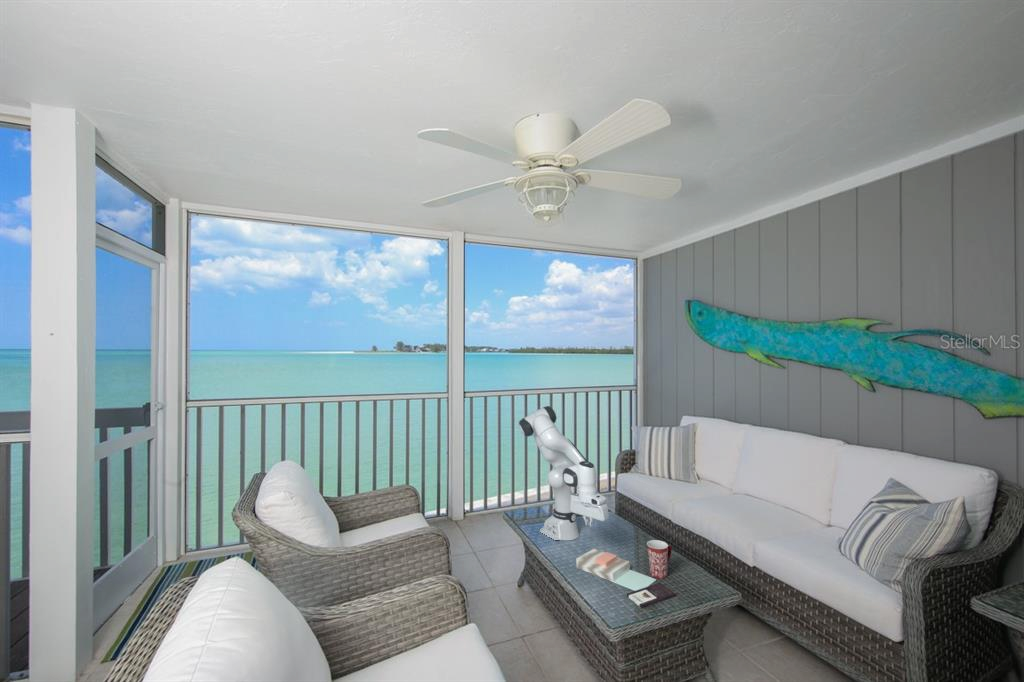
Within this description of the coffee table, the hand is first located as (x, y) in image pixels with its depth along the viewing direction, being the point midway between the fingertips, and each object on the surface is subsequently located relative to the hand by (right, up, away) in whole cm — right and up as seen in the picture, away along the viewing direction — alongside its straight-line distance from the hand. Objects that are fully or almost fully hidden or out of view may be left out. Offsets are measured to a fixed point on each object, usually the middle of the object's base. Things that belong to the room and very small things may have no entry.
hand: (589, 525), depth 209 cm
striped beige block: (+5, -18, -5) cm, 19 cm away
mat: (+17, -17, -17) cm, 29 cm away
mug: (+31, -17, -11) cm, 37 cm away
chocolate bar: (+20, -17, -29) cm, 39 cm away
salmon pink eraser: (+7, -14, -7) cm, 17 cm away
